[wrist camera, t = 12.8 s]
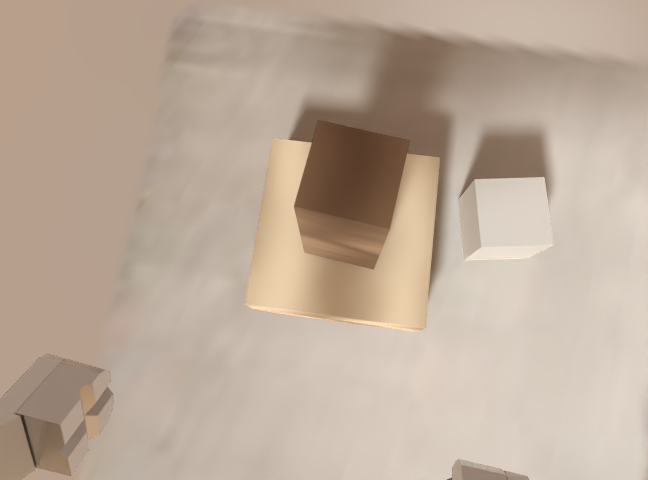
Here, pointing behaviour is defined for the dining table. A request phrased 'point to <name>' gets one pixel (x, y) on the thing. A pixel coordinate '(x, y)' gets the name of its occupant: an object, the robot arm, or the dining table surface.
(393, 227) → the plinth
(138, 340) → the dining table surface
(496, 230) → the cube
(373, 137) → the walnut column
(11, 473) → the robot arm
